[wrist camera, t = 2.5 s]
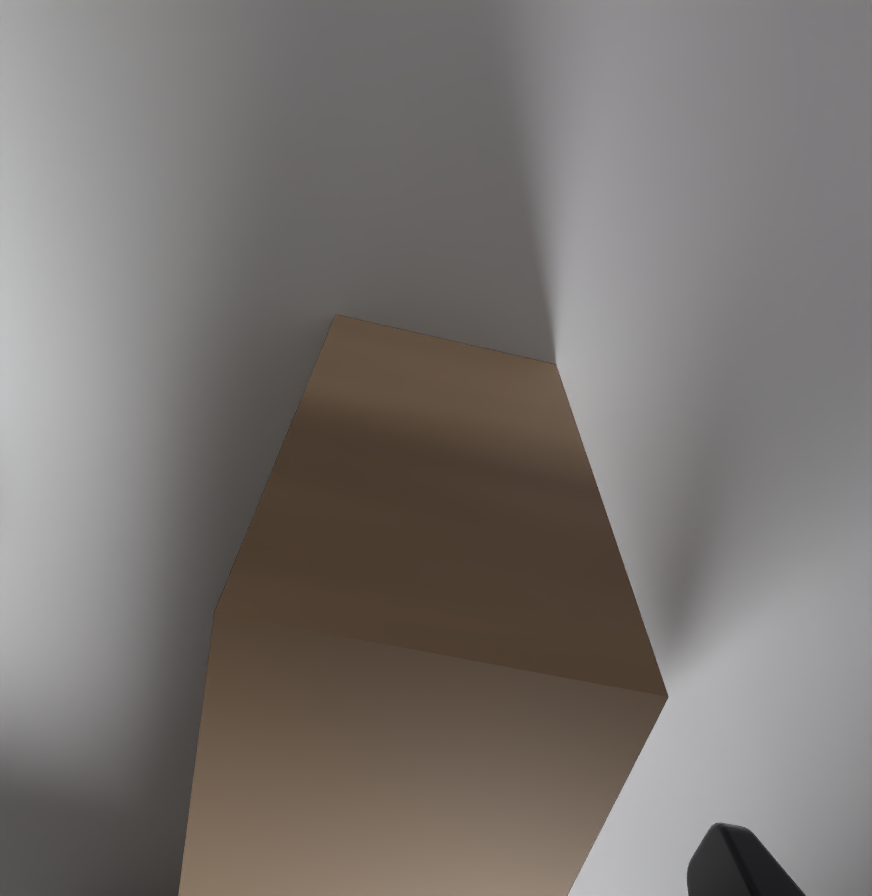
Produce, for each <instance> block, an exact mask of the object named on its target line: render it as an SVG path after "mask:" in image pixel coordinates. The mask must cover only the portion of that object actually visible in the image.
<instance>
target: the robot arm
mask: <svg viewBox="0 0 872 896" xmlns="http://www.w3.org/2000/svg"><path fill="white" fill-rule="evenodd" d="M687 886H688V895H689V896H806V895H805V894H804V893H803V892H802V891H801V889H800V888H799V887H798V886H797V885H796V883H795V882H794V881H793V880H792V879H791V877H790V876H789V875H788V874H787V873H786V872H785V870H784V869H783V868H782V867H781V866H780V864H779V863H778V862H777V861H776V860H775V858H774V857H773V856H772V855H771V854H770V853H769V851H768V850H767V849H766V848H765V847H764V845H763V844H762V843H761V842H760V841H759V839H758V838H757V837H756V836H755V835H754V834H753V833H752V832H751V831H750V830H749V829H747V828H745V827H742V826H737V825H731V824H725V823H716V824H714V825H712V826H711V827H710V829H709V830H708V832H707V834H706V835H705V837H704V839H703V840H702V842H701V843H700V845H699V847H698V848H697V850H696V852H695V853H694V855H693V857H692V858H691V860H690V863H689V866H688V871H687Z"/></svg>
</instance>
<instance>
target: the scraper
mask: <svg viewBox="0 0 872 896" xmlns="http://www.w3.org/2000/svg"><path fill="white" fill-rule="evenodd" d="M667 699H668V694H667V691H666V688H665V685H664V682H663V679H662V676H661V673H660V670H659V667H658V664H657V661H656V659H655V656H654V653H653V650H652V647H651V644H650V641H649V638H648V635H647V632H646V629H645V626H644V623H643V620H642V617H641V614H640V611H639V608H638V605H637V602H636V599H635V596H634V593H633V591H632V588H631V585H630V582H629V579H628V576H627V573H626V570H625V567H624V564H623V561H622V558H621V555H620V552H619V549H618V546H617V543H616V540H615V537H614V534H613V531H612V528H611V525H610V523H609V520H608V517H607V514H606V511H605V508H604V505H603V502H602V499H601V496H600V493H599V490H598V487H597V484H596V481H595V478H594V475H593V472H592V469H591V466H590V463H589V460H588V458H587V455H586V452H585V449H584V446H583V443H582V440H581V437H580V434H579V431H578V428H577V425H576V422H575V419H574V416H573V413H572V410H571V407H570V404H569V401H568V398H567V395H566V392H565V390H564V387H563V384H562V381H561V378H560V375H559V372H558V369H557V366H556V364H551V363H547V362H543V361H538V360H534V359H529V358H525V357H521V356H516V355H512V354H507V353H503V352H499V351H494V350H490V349H485V348H481V347H477V346H472V345H468V344H463V343H459V342H455V341H450V340H446V339H441V338H437V337H433V336H428V335H424V334H419V333H415V332H411V331H406V330H402V329H397V328H393V327H389V326H384V325H380V324H375V323H371V322H367V321H362V320H358V319H353V318H349V317H345V316H340V315H335V317H334V320H333V322H332V325H331V327H330V329H329V332H328V334H327V337H326V339H325V342H324V344H323V347H322V349H321V352H320V354H319V356H318V359H317V361H316V364H315V366H314V369H313V371H312V374H311V376H310V379H309V381H308V383H307V386H306V388H305V391H304V393H303V396H302V398H301V401H300V403H299V405H298V408H297V410H296V413H295V415H294V418H293V420H292V423H291V425H290V428H289V430H288V432H287V435H286V437H285V440H284V442H283V445H282V447H281V450H280V452H279V455H278V457H277V459H276V462H275V464H274V467H273V469H272V472H271V474H270V477H269V479H268V482H267V484H266V486H265V489H264V491H263V494H262V496H261V499H260V501H259V504H258V506H257V509H256V511H255V513H254V516H253V518H252V521H251V523H250V526H249V528H248V531H247V533H246V536H245V538H244V540H243V543H242V545H241V548H240V550H239V553H238V555H237V558H236V560H235V563H234V565H233V567H232V570H231V572H230V575H229V577H228V580H227V582H226V585H225V587H224V590H223V592H222V594H221V597H220V599H219V602H218V604H217V607H216V609H215V612H214V618H213V626H212V634H211V642H210V650H209V657H208V665H207V673H206V681H205V689H204V697H203V705H202V713H201V720H200V728H199V736H198V744H197V752H196V760H195V768H194V776H193V783H192V791H191V799H190V807H189V815H188V823H187V831H186V839H185V846H184V854H183V862H182V870H181V878H180V886H179V894H178V896H567V895H568V893H569V891H570V889H571V888H572V886H573V884H574V882H575V880H576V878H577V876H578V874H579V872H580V870H581V868H582V866H583V864H584V862H585V860H586V858H587V856H588V854H589V852H590V850H591V848H592V846H593V844H594V842H595V840H596V838H597V836H598V835H599V833H600V831H601V829H602V827H603V825H604V823H605V821H606V819H607V817H608V815H609V813H610V811H611V809H612V807H613V805H614V803H615V801H616V799H617V797H618V795H619V793H620V791H621V789H622V787H623V785H624V783H625V782H626V780H627V778H628V776H629V774H630V772H631V770H632V768H633V766H634V764H635V762H636V760H637V758H638V756H639V754H640V752H641V750H642V748H643V746H644V744H645V742H646V740H647V738H648V736H649V734H650V732H651V731H652V729H653V727H654V725H655V723H656V721H657V719H658V717H659V715H660V713H661V711H662V709H663V707H664V705H665V703H666V701H667Z"/></svg>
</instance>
